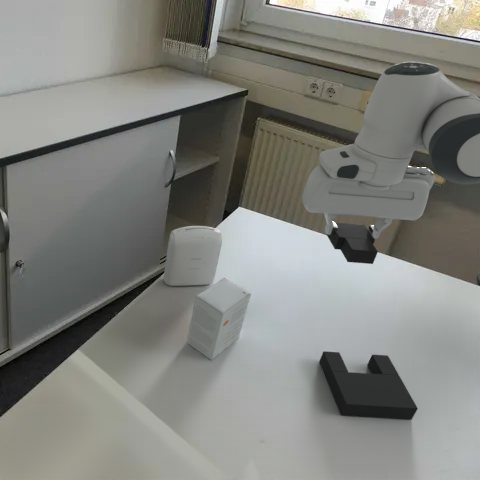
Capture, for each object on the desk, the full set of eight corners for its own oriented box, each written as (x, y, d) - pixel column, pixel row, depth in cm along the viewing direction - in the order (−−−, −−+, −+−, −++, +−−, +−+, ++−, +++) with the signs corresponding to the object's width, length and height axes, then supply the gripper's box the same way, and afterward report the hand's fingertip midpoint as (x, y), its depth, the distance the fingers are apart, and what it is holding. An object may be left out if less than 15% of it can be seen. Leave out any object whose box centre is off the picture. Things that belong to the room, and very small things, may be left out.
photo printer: (165, 288, 104) (174, 234, 98) (160, 274, 108) (168, 221, 101) (215, 286, 106) (228, 233, 99) (209, 273, 110) (221, 221, 103)
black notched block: (318, 362, 91) (323, 351, 90) (382, 366, 92) (387, 355, 90) (341, 415, 82) (346, 404, 80) (411, 419, 82) (418, 408, 81)
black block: (326, 234, 99) (330, 222, 98) (360, 236, 99) (364, 224, 98) (341, 261, 92) (346, 249, 90) (378, 264, 92) (384, 252, 91)
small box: (213, 322, 97) (224, 276, 91) (239, 339, 94) (252, 292, 88) (185, 342, 92) (195, 294, 86) (211, 361, 89) (223, 312, 83)
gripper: (430, 160, 92) (400, 229, 99) (311, 150, 91) (290, 221, 99) (448, 177, 86) (415, 248, 94) (322, 167, 86) (299, 239, 93)
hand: (350, 234), depth 96 cm, fingers closed on black block, 6 cm apart
